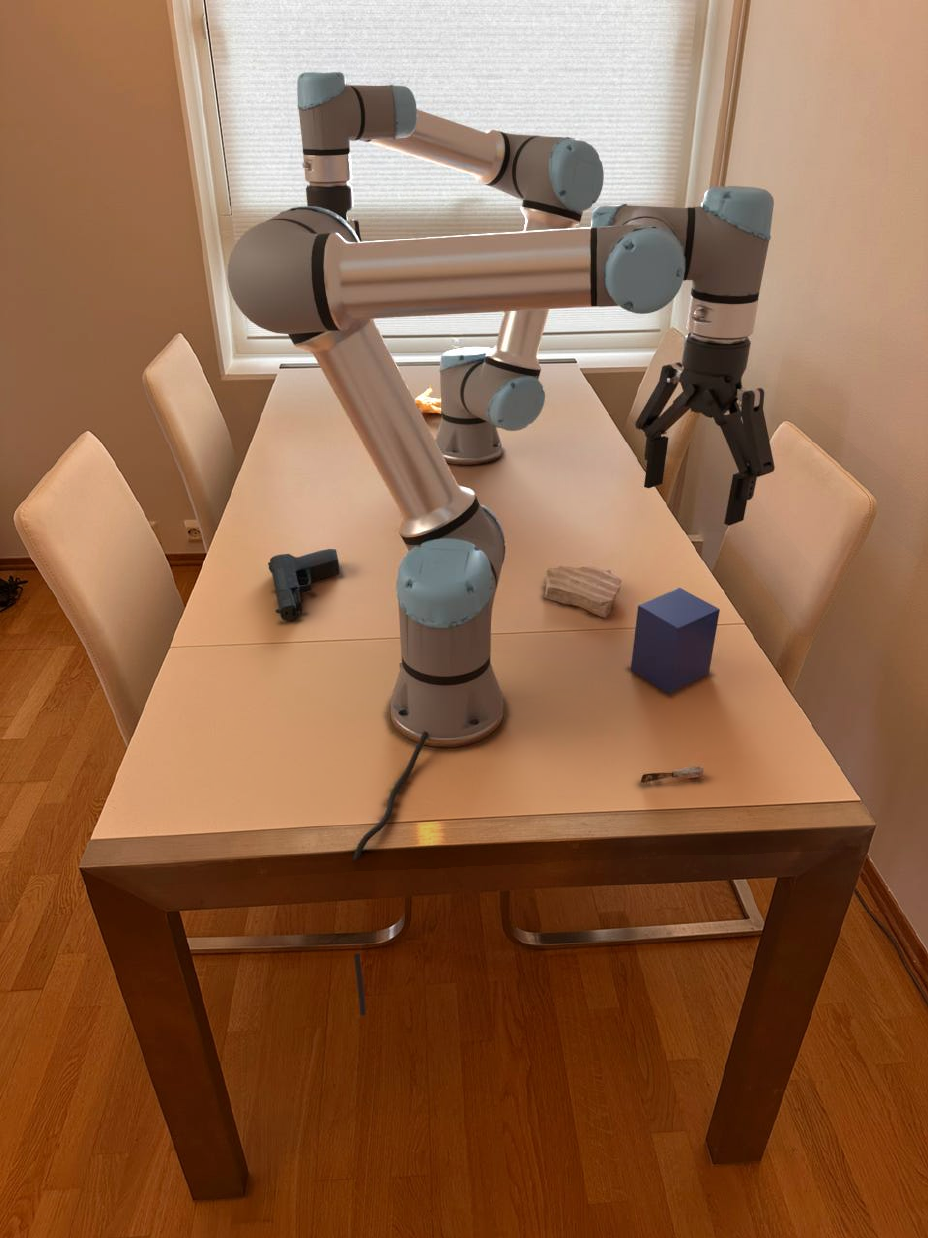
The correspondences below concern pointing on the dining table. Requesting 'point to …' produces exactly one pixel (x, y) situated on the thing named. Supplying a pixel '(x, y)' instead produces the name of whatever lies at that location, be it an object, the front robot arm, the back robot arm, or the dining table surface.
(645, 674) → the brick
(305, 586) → the handgun
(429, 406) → the human figure
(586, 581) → the stone
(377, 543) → the dining table surface
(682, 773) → the putty knife
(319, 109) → the back robot arm
